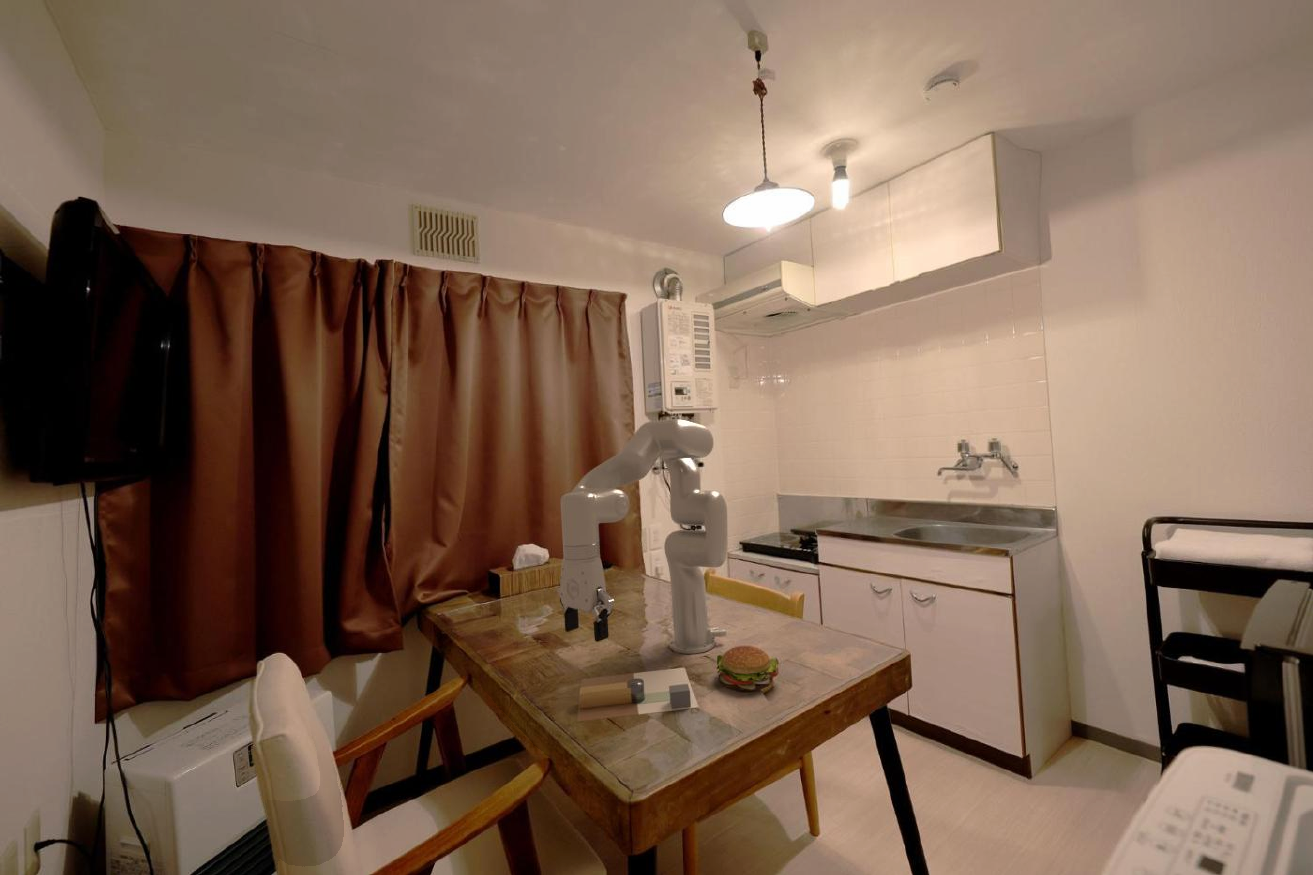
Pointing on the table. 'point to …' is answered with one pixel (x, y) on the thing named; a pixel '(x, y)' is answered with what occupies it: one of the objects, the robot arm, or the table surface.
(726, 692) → the table surface
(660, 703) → the door panel
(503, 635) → the table surface
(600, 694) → the bar
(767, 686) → the food
